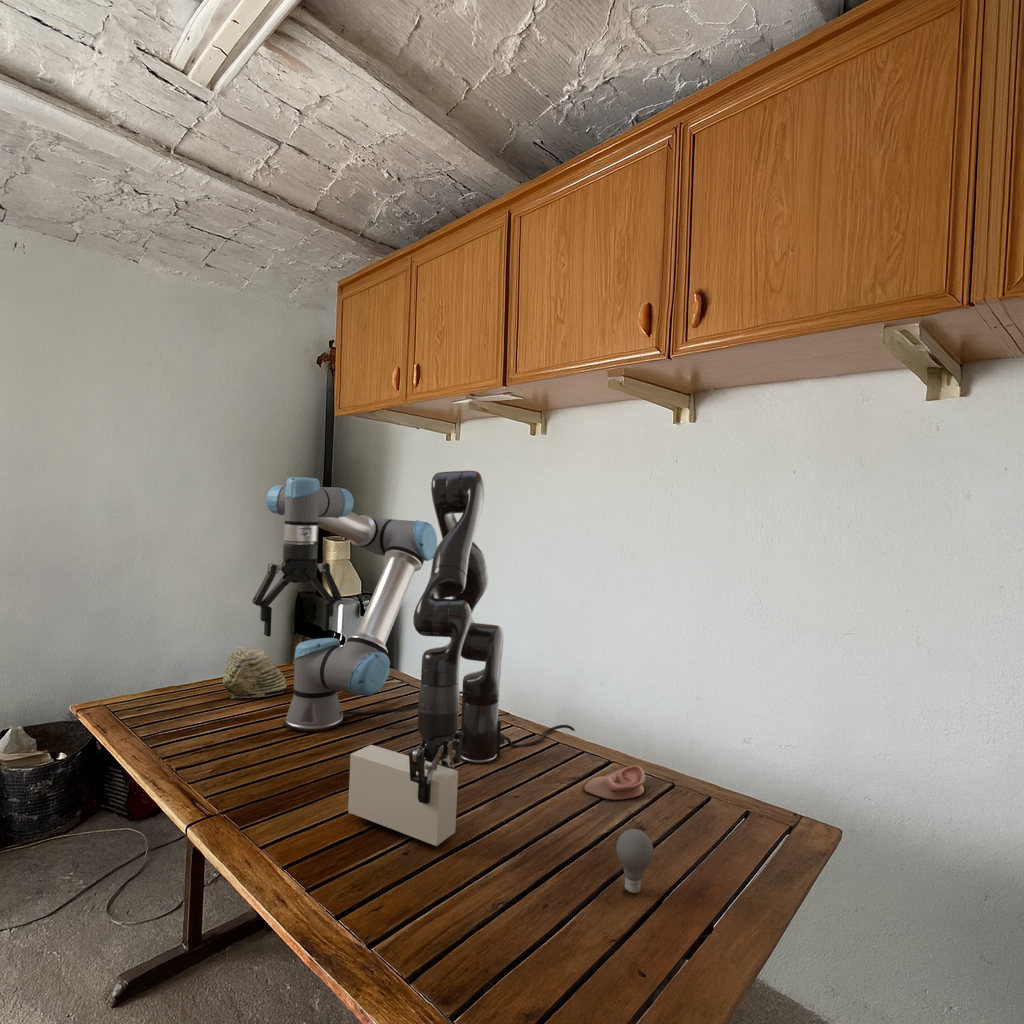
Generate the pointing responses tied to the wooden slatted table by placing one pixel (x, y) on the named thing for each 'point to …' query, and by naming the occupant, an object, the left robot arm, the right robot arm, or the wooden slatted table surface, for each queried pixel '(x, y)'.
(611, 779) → the anatomical model
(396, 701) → the wooden slatted table surface
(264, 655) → the fossil
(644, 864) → the light bulb
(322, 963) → the wooden slatted table surface
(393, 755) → the box
